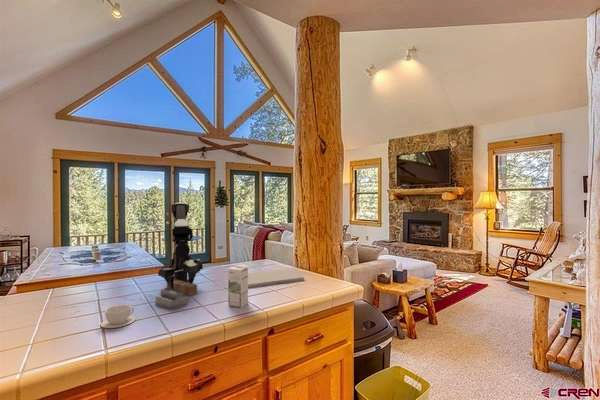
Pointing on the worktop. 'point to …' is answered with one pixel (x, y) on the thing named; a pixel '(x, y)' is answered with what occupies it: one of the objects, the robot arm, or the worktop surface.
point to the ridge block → (171, 298)
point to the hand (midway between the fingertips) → (181, 288)
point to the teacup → (118, 316)
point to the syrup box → (238, 286)
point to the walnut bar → (184, 287)
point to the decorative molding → (274, 277)
